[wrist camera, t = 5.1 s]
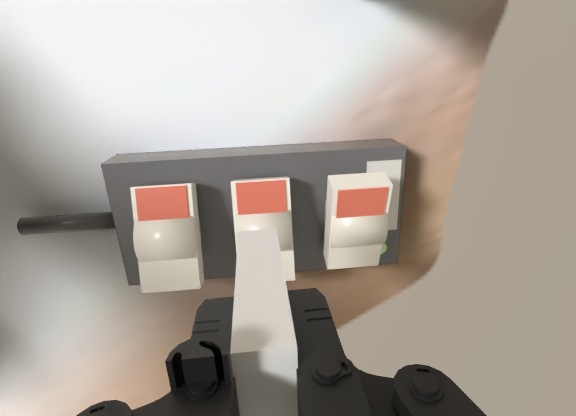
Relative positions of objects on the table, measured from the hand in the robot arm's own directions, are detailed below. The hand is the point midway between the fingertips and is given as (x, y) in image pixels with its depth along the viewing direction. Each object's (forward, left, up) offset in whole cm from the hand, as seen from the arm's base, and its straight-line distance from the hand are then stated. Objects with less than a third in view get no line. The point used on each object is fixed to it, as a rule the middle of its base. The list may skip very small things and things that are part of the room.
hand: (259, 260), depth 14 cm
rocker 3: (+6, -2, -10) cm, 12 cm away
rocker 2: (0, -3, -10) cm, 10 cm away
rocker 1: (-6, -3, -10) cm, 12 cm away
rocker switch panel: (-3, -2, -13) cm, 14 cm away
